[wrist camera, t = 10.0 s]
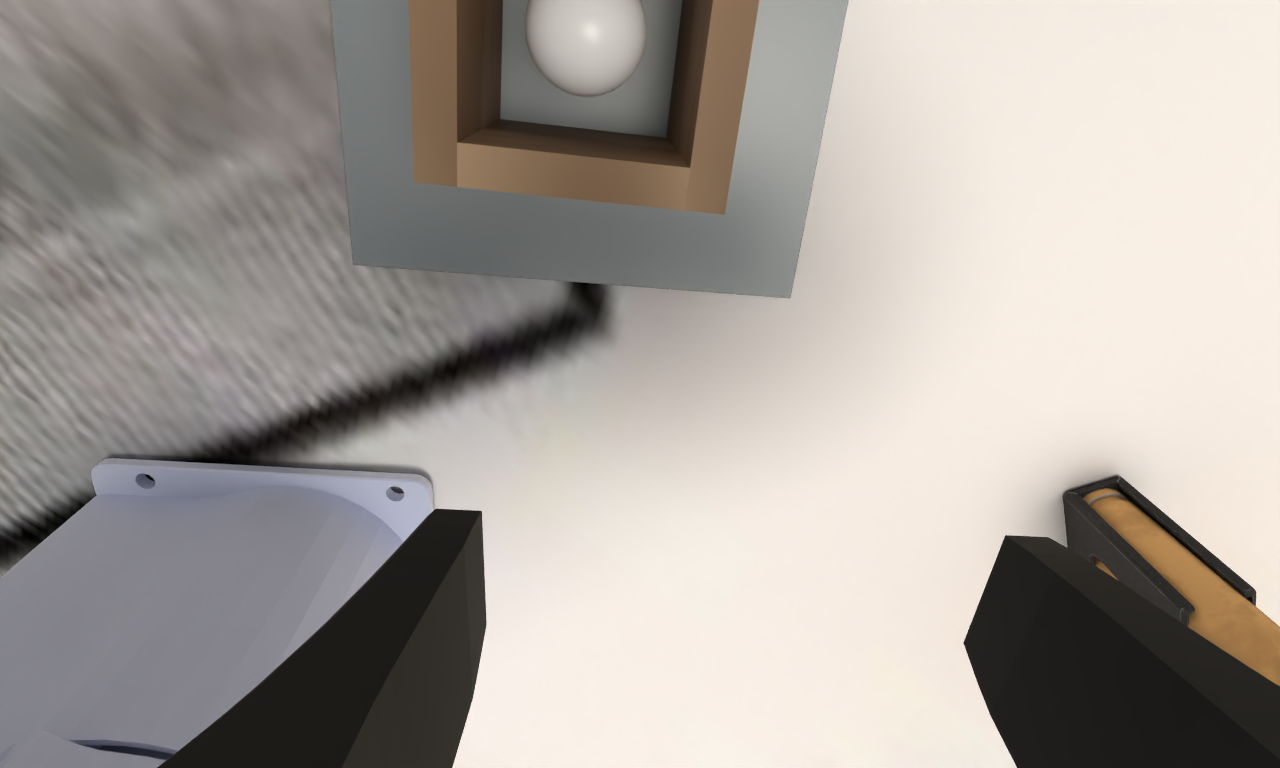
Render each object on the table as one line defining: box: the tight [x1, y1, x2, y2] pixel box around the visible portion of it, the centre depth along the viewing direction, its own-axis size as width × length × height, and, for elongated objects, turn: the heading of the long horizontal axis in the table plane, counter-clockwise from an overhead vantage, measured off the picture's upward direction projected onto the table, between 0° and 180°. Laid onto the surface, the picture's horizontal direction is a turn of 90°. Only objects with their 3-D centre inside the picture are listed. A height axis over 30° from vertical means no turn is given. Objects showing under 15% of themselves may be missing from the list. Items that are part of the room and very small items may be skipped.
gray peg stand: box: [330, 0, 848, 298], centre depth 13 cm, size 11×11×6 cm
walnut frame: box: [408, 0, 759, 215], centre depth 13 cm, size 5×5×5 cm
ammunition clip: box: [1063, 476, 1280, 686], centre depth 19 cm, size 11×2×12 cm, turn 19°
